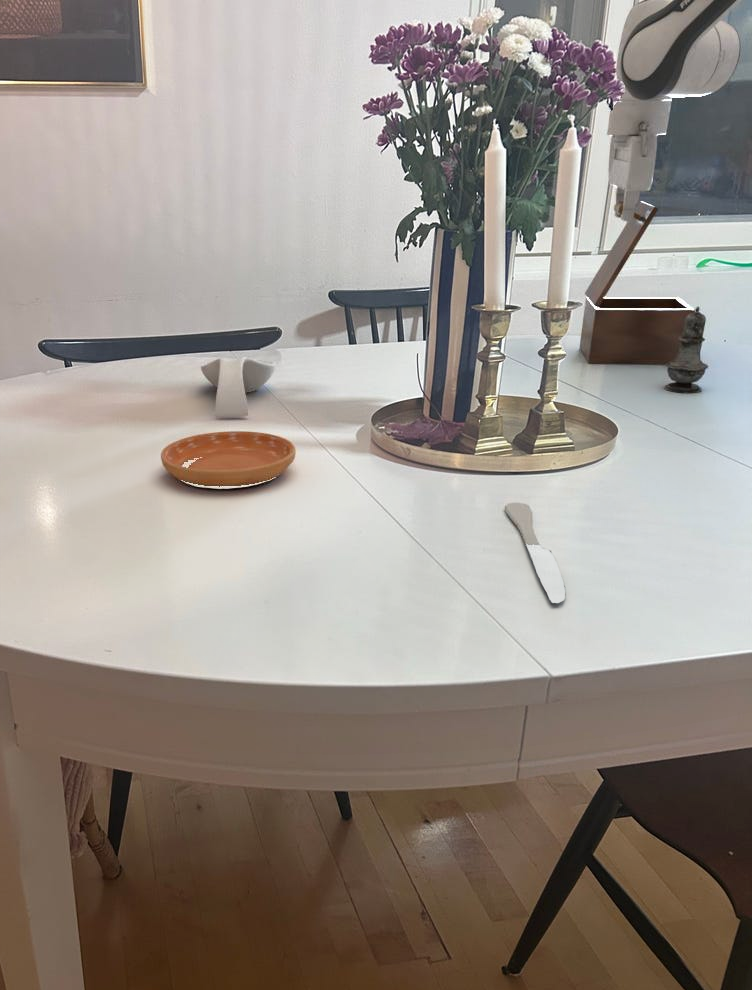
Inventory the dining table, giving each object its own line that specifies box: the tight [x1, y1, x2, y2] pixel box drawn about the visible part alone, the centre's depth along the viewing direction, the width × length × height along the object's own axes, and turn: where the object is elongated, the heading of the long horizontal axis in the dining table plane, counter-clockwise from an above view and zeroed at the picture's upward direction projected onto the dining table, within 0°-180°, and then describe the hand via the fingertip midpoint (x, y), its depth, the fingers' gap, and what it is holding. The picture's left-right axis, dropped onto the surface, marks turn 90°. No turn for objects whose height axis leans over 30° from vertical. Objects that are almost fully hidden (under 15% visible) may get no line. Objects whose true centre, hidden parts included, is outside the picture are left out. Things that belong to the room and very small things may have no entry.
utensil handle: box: [504, 502, 541, 546], centre depth 89 cm, size 1×24×3 cm
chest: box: [578, 296, 696, 366], centre depth 161 cm, size 16×13×9 cm
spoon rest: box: [200, 356, 277, 418], centre depth 141 cm, size 24×12×7 cm, turn 179°
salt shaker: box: [663, 305, 709, 394], centre depth 139 cm, size 6×6×12 cm
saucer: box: [160, 430, 297, 487], centre depth 111 cm, size 16×16×3 cm
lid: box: [584, 200, 659, 307], centre depth 155 cm, size 16×13×5 cm
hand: (623, 219), depth 153 cm, fingers closed on lid, 5 cm apart
